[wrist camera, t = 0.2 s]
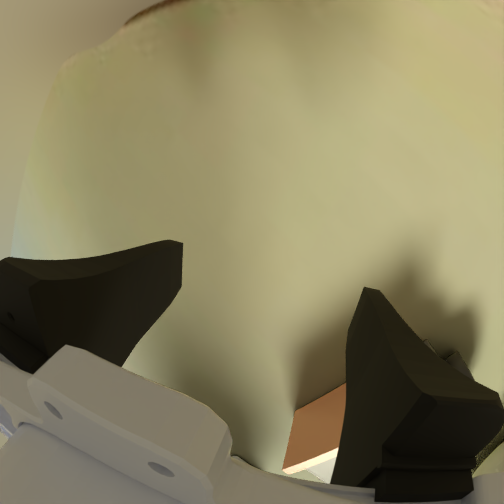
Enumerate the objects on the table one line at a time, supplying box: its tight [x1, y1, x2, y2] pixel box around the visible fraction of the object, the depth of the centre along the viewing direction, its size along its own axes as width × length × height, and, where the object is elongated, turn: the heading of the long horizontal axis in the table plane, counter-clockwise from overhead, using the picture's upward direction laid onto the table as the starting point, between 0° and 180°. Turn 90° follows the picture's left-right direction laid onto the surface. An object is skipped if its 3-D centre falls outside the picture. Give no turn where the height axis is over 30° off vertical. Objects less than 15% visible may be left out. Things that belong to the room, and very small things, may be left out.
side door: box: [282, 383, 346, 474], centre depth 20 cm, size 12×1×7 cm, turn 134°
